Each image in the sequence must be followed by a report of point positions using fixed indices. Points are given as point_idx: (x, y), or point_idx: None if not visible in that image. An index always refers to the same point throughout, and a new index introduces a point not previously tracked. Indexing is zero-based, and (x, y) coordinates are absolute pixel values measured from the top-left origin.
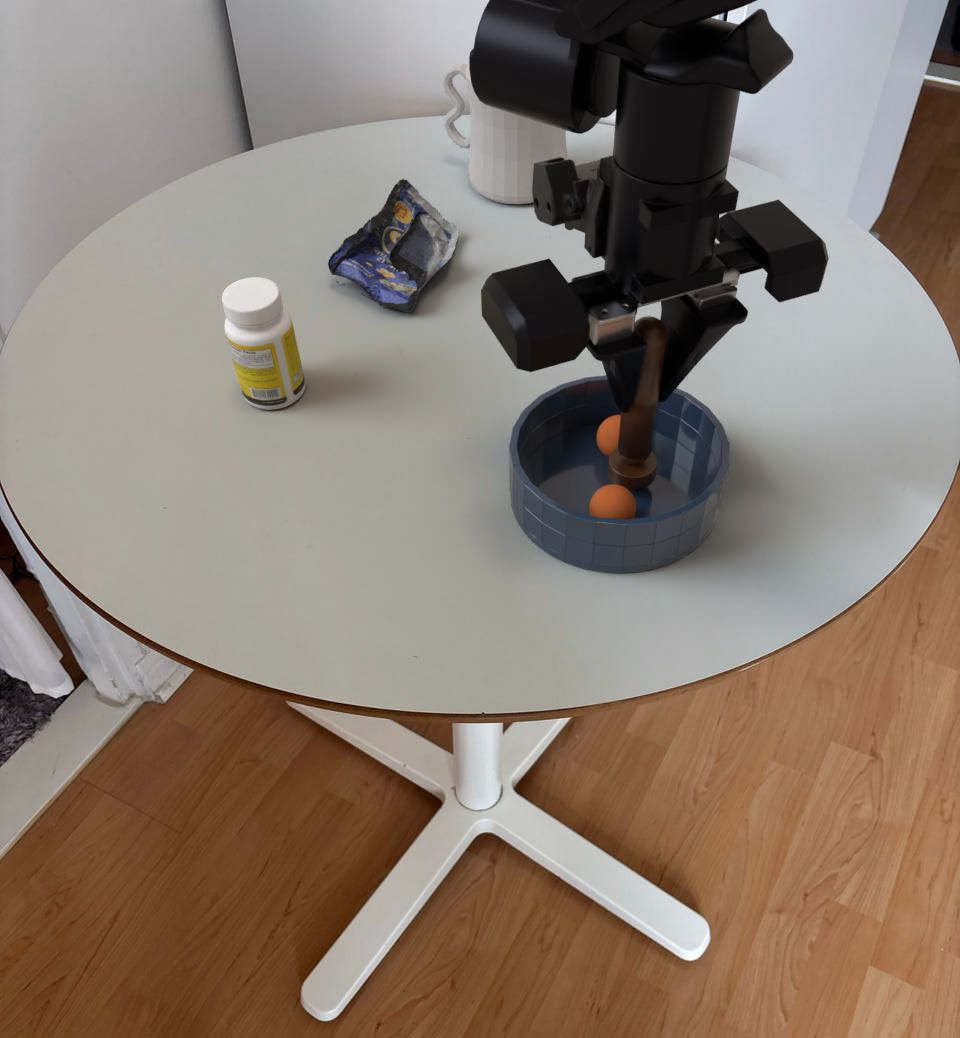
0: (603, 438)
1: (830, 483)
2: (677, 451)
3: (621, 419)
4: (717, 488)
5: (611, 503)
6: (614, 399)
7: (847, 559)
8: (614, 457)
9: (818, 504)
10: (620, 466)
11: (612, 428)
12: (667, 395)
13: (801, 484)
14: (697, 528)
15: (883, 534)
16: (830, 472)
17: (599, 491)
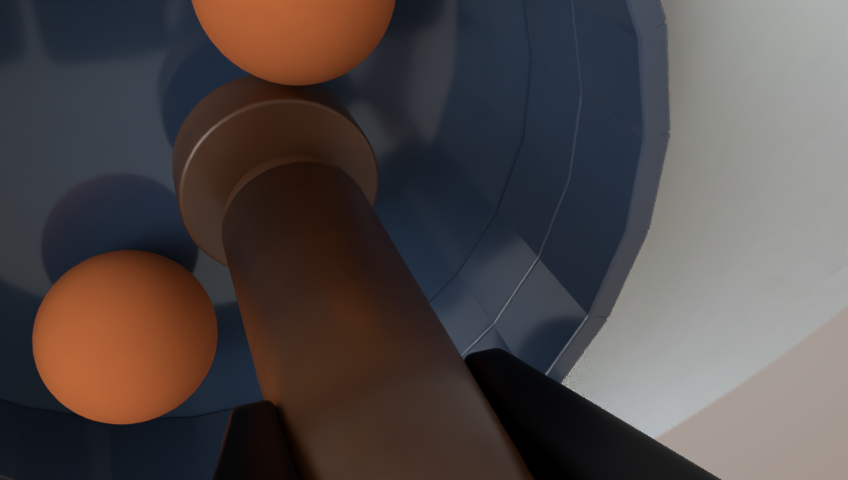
0: (208, 21)
1: (745, 224)
2: (490, 26)
3: (251, 347)
4: None
5: (106, 419)
6: (227, 429)
7: (617, 415)
8: (213, 161)
9: (678, 278)
10: (219, 213)
11: (262, 32)
12: None
13: (694, 213)
14: None
15: (715, 368)
16: (771, 192)
17: (76, 355)
